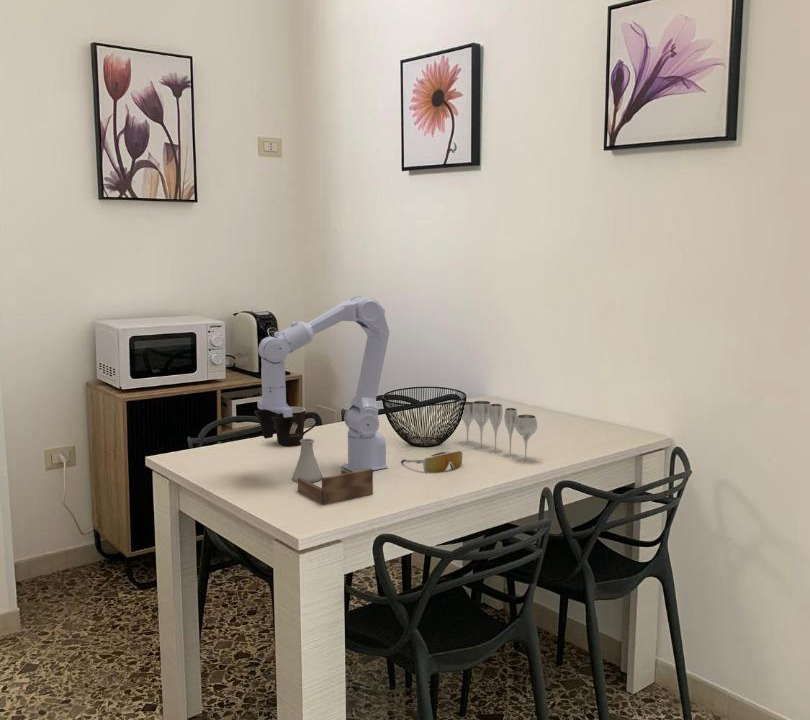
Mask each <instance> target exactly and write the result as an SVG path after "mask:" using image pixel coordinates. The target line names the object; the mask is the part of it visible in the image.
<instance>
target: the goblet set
mask: <svg viewBox="0 0 810 720" xmlns="http://www.w3.org/2000/svg"><path fill="white" fill-rule="evenodd" d="M464 402H465V405H464V410H463V414H462V417H461V416H460V418H461V420H462V421H463V423H464V425H465V428H466V441H461V442H460V443H459V444H460V445H462V446H473V447H472V448H473V449H475V450H480V451H481V450H488V453H490V454H502V453H503V450H501V449H497V435H498V429H499V427H500V425H501V423H502V421H503V419H504V424H505V428H506V429H507V432H508V436H509V453H504V454H503V455H502V456H503V457H504V458H509V459H510V458H517V457H518V454H515V453H512V437H513V433H514V430H516V431H517V434H519V435H520V437H521V438H522V439H523V443H524V457H518V458H517V459H516V461H517V462H519V463H528V464H529V463H534V461H535V459H534V458H531V457H527V450H528V448H527V447H528V441H529V439H530V438H531V437H532V436H533V435H534V434H535V433H536V431H537V429H538V421H537V418H536V416H535V415H534V414H519V415H518V409H517V408H514V407H508V408H507V407H506V408H505V409H504V410H503V405H502V404H501V403H491V402H490V401H487V400H475V401H464ZM503 411H504V414H503ZM503 415H504V418H503ZM473 420H474V421H475V423H476V424H477V425H478V427H479V431H480V433H479V434H480V442H479V443H480V444H477V445H475V444H476V443H475V442H473V441H469V430H470V429H469V428H470V425H471V423H472V422H473ZM488 421H490V424H491V426H492V428H493V432H494V449H490V446H488V445H485V444H484V445H483V429H484V427H485V425H486V424H487V423H488ZM489 449H490V450H489Z"/></svg>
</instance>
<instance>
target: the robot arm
mask: <svg viewBox="0 0 810 720" xmlns="http://www.w3.org/2000/svg"><path fill="white" fill-rule="evenodd" d="M385 313H386V309H384V307H383V306H382V305H381V304H380V302H379V301H378V300H376V299H375V298H366V297H363V296H360V295H357V296H353V297H351V298H350V299H346V300H344V301H342V302H340V303H339V304H338V305H337V304H336V305H334V307H332V308H331V309H329V310H327V311H325V312H324V313H322V314H321V315H319V316H316V318H313V319H312V320H311V321H309V322H304V321H301V320H300V321H298V322H297V321H296V320H294V321H293V322H291V323H290V326H289V327H287V328H285V329H283V330H281V331H275V332H274V333H273V335H274V336H266V337H264V338H263V339H262V340H261V341H260V342H259V344H258V348H257V353H258V355H259V357H260V358H261V359H260V362H261V367H260V370H261V372H260V373H261V375H260V376H261V398H262V399H257V401H256V402H257V403H256V404H257V408H258V410H257V409H255V410H254V415H255V416H256V418H257V420H258V422H259V425H260V428H261V433H262V436H263V439H273V438H274V432H276V439H277V444H278V445H279V446H282V444H287V442H288V438H289V433H290V429H291V427H292V424H293V422H294V420H295V419H296V416H294V415H292V408H290V407H291V406H289V404H288V403H287V387H286V368H285V361H286V359H287V356H288V354H289V355H290V354H292V353H293V352H295V351H297V350H299V349H301V348H302V347H305V346H306V345H308V344H311V342H312V341H313V339H314V336H315V335H316V334H319V333H320V332H322V331H325V330H326V329H329V328H331V327H333V326H335V325H337V324H338V323H341V322H355V323H356V324H357V325H359V326H360V328H361V329H362V330H363V331H364V332H365V334H366V335H367V338H366V341H365V342H366V343H365V347H364V352H363V357H362V362H361V367H360V373H359V378H358V382H357V387H356V392H355V396H354V397H353V398H352V399H351V401H350V405H349V407H348V409H346V412H345V413H344V419H343V420H344V423H345V425H346V427H347V428H348V430H347V463H345V464H341V468H343V469H345V470H347V471H349V472H354V471H359V470H364V469H369V468H371V469H373V471H377V470H383V469H387V468H389V466H388V465H387V445H386V443H387V442H386V438H385V437H384V435H383V433H381V432H379V431H378V430H379V427H380V422H379V421H380V420H379V406H378V402H377V395H378V392H379V386H380V380H381V377H382V376H381V375H382V372H383V366H384V360H385V357H386V352H387V346H388V341H389V338H390V337H389V336H390V329H389V326H388V325H389V324H388V321H387V320H386V316H385ZM276 413H278V414H279V416H276ZM274 429H275V431H274Z"/></svg>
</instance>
